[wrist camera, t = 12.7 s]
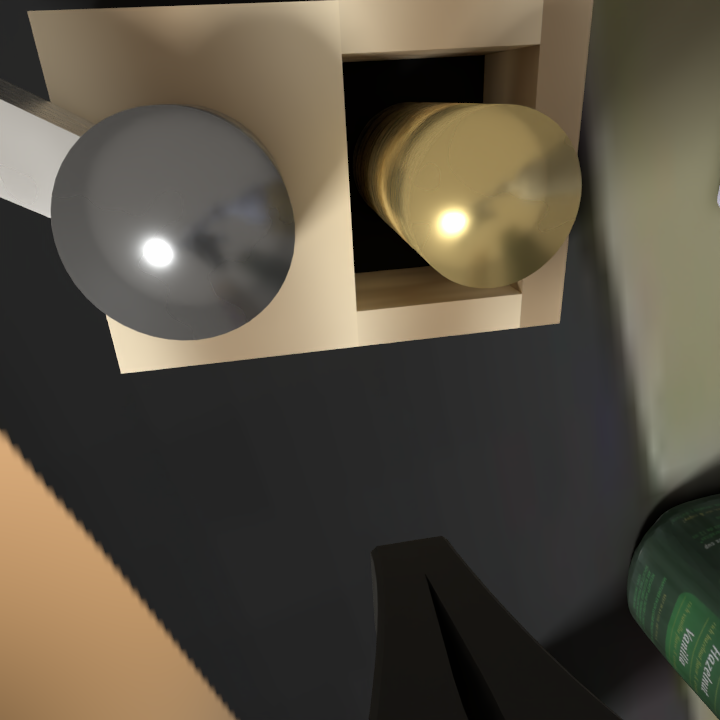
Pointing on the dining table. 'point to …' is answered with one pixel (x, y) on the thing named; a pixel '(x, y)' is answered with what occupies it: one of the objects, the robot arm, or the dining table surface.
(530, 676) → the robot arm
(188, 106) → the copper tipped joystick
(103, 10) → the birch block
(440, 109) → the brass pin
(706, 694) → the coffee jar
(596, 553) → the dining table surface
